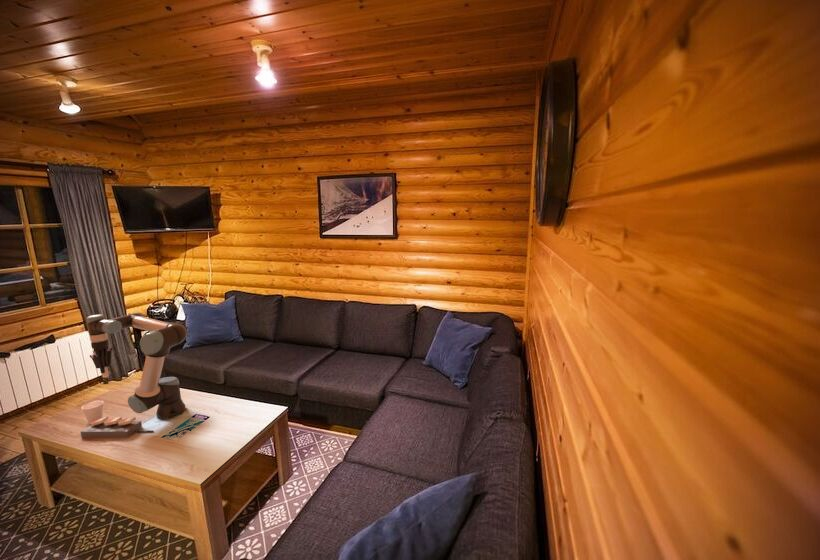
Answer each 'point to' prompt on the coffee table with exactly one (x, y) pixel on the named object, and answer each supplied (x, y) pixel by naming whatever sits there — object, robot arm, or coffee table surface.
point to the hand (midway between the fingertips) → (105, 377)
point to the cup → (93, 410)
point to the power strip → (112, 430)
